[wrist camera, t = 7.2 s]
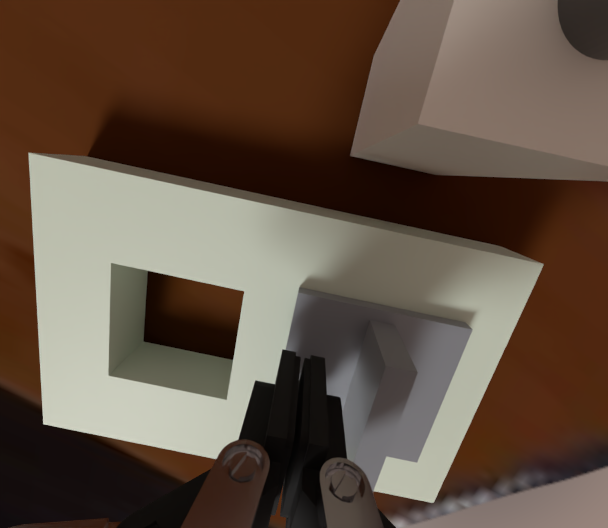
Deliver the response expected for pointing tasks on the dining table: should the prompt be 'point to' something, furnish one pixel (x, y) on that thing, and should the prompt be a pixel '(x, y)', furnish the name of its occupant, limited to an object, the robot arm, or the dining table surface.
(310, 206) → the socket board
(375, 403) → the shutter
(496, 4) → the plug
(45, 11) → the dining table surface
